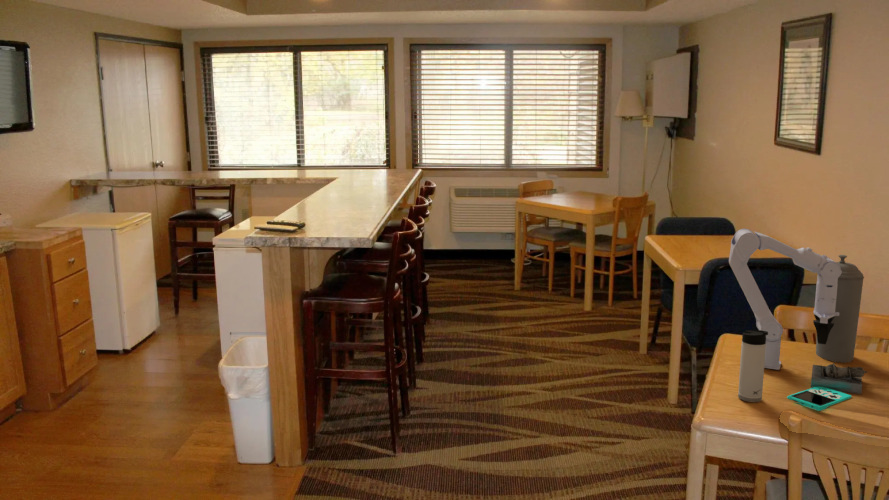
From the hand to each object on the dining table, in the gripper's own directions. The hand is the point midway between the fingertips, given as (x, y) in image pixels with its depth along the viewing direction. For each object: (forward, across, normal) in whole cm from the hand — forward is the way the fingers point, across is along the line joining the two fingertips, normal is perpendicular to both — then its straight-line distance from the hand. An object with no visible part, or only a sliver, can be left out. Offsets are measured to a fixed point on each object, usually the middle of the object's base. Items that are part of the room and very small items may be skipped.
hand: (822, 340), depth 224 cm
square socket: (+10, -9, -4) cm, 14 cm away
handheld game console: (+11, -24, 0) cm, 26 cm away
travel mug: (+11, -33, +17) cm, 39 cm away
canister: (+11, +16, -4) cm, 20 cm away
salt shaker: (+8, -10, 0) cm, 13 cm away
